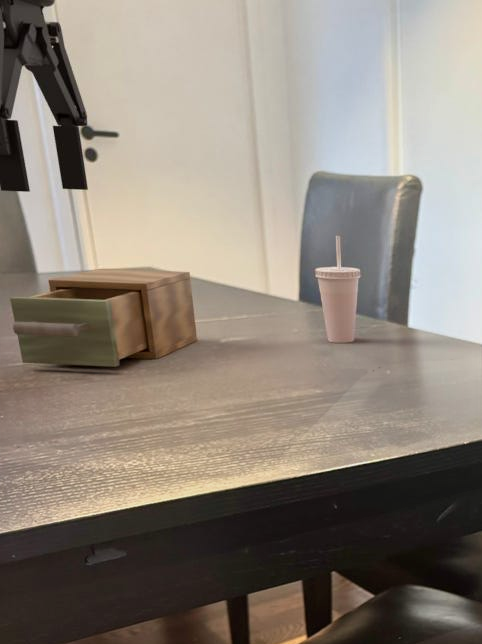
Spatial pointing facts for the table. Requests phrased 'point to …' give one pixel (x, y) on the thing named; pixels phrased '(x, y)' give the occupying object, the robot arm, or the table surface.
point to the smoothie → (339, 299)
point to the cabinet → (148, 303)
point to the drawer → (80, 326)
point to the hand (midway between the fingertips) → (47, 190)
